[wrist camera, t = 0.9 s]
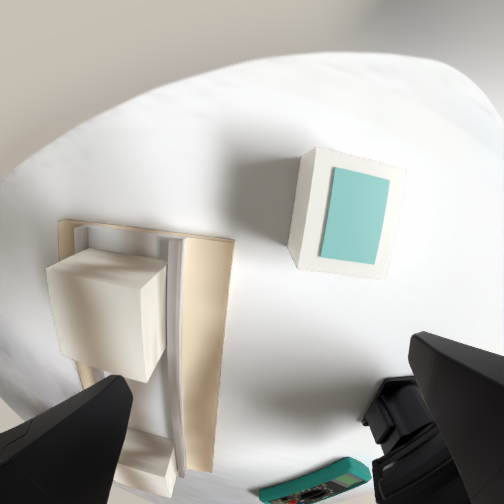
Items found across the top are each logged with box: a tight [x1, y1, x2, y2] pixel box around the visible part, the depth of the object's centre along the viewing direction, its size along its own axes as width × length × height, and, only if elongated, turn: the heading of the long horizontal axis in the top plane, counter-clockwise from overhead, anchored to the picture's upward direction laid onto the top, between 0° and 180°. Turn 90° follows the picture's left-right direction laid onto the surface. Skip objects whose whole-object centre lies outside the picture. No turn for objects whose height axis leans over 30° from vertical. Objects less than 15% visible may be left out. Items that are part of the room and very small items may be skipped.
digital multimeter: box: [259, 457, 372, 504], centre depth 25 cm, size 7×15×3 cm, turn 130°
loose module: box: [287, 147, 406, 280], centre depth 15 cm, size 5×6×5 cm
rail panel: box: [46, 219, 235, 498], centre depth 18 cm, size 14×28×7 cm, turn 172°
